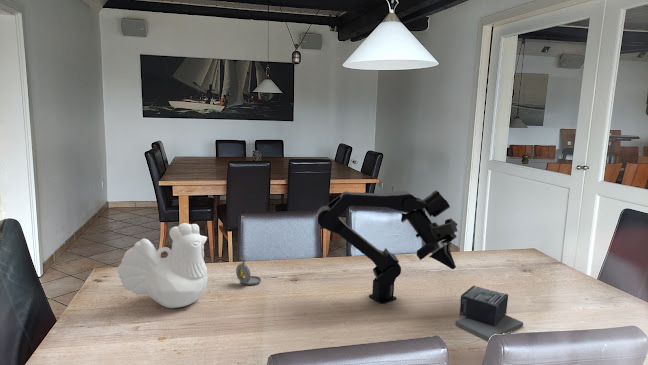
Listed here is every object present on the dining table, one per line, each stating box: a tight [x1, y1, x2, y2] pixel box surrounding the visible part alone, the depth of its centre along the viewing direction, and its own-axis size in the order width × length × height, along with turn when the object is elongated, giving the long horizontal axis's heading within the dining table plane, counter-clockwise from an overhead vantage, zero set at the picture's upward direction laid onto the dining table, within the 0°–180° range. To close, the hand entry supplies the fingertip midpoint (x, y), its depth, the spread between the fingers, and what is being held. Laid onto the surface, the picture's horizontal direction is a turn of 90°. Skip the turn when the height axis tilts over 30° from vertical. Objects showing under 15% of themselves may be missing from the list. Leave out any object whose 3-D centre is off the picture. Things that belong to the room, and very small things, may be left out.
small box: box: [459, 285, 509, 326], centre depth 128 cm, size 11×6×10 cm
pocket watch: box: [235, 256, 262, 286], centre depth 150 cm, size 8×8×10 cm
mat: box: [454, 314, 524, 342], centre depth 124 cm, size 16×11×1 cm
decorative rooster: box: [116, 222, 209, 309], centre depth 131 cm, size 25×16×25 cm, turn 107°
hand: (454, 268), depth 132 cm, fingers closed
